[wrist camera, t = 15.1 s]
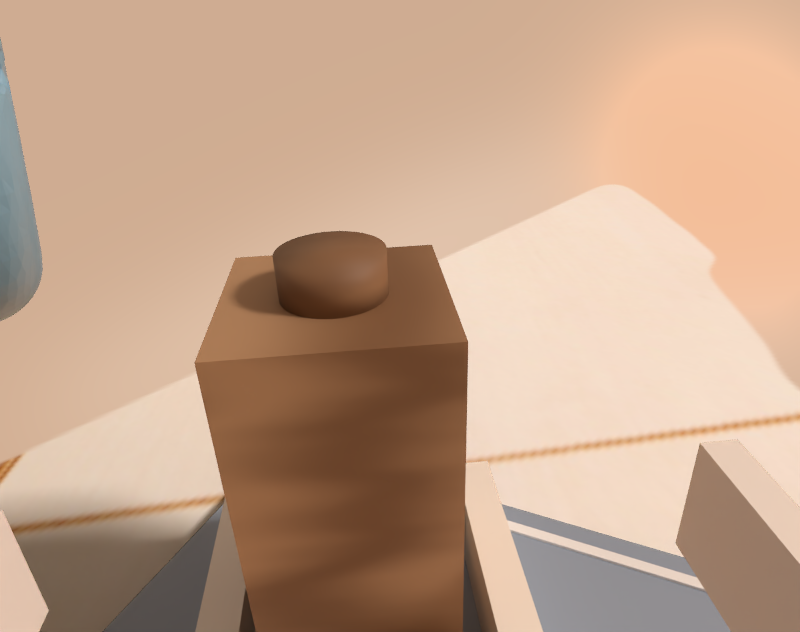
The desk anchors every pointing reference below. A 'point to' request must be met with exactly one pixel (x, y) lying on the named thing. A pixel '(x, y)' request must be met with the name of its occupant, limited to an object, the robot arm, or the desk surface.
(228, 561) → the socket collar
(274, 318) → the pillar
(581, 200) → the desk surface
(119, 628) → the board
